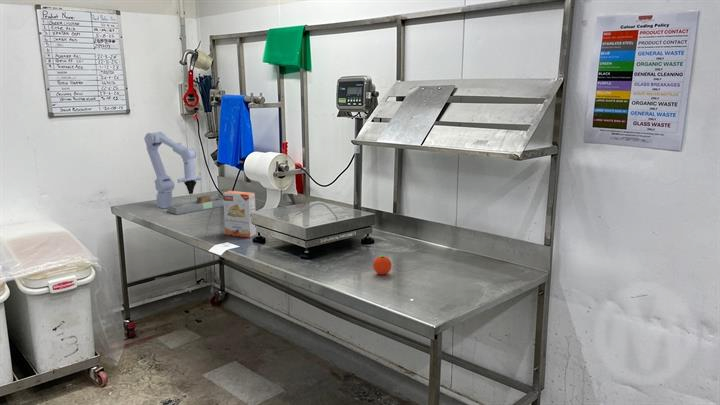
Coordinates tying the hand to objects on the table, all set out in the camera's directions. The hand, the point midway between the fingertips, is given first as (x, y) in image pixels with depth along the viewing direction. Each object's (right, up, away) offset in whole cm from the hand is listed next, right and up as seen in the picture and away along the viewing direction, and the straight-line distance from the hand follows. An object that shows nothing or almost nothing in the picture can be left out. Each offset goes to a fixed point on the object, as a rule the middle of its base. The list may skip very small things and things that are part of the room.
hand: (190, 193), depth 301 cm
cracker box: (+41, -21, -52) cm, 70 cm away
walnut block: (+6, -6, +6) cm, 10 cm away
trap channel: (+3, -9, +3) cm, 10 cm away
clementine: (+106, -32, -104) cm, 152 cm away
